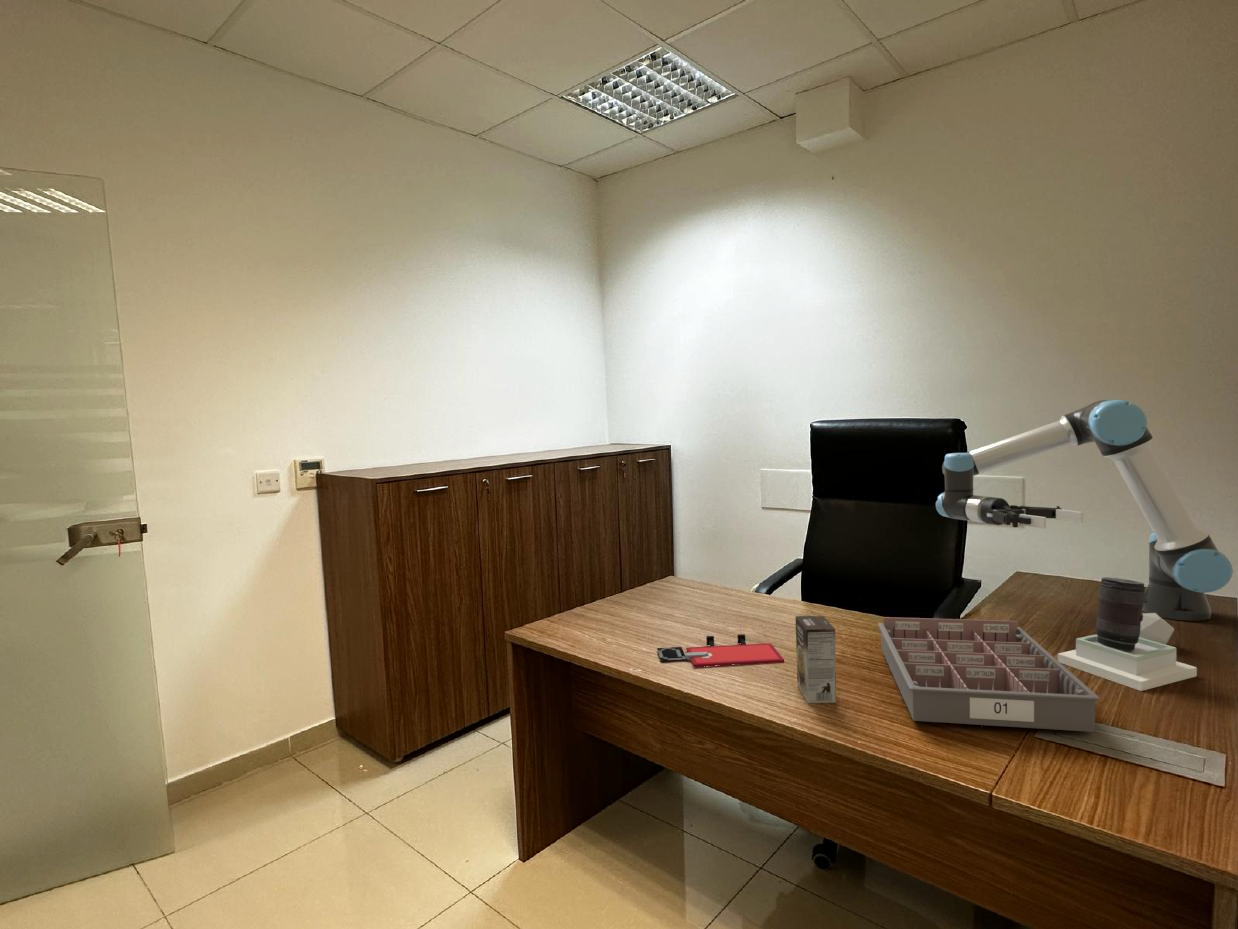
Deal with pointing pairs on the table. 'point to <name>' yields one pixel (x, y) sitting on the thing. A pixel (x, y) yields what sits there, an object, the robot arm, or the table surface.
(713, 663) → the red board with handle
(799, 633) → the coffee box
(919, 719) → the organizer tray
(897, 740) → the table surface
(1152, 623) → the white polyhedron
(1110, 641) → the camera lens
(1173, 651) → the plinth
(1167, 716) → the table surface
